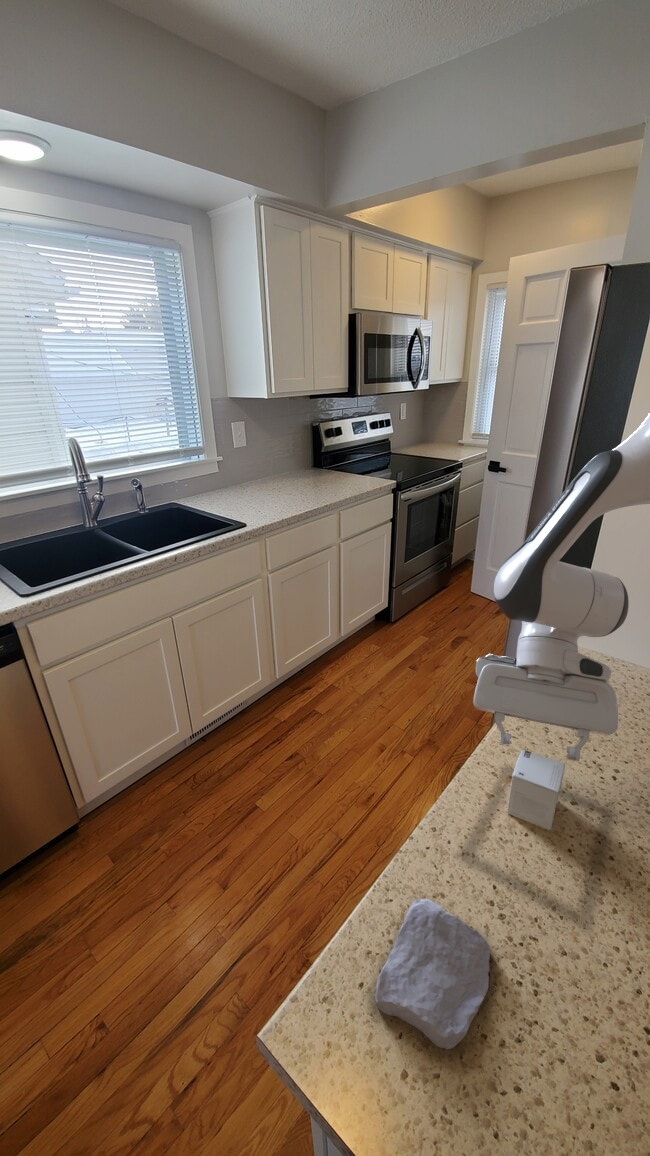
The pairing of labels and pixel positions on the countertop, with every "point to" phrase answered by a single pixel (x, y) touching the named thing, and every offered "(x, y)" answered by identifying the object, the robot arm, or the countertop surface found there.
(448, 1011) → the stone block
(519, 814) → the product carton
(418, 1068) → the countertop surface
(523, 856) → the countertop surface
